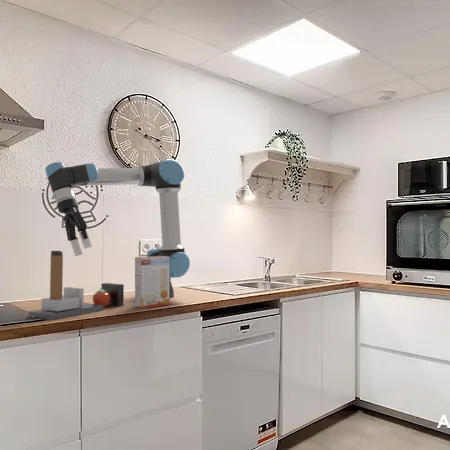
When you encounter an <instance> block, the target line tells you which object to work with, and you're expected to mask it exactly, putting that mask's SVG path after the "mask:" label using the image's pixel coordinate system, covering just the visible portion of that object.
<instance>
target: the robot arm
mask: <svg viewBox="0 0 450 450" xmlns="http://www.w3.org/2000/svg"><path fill="white" fill-rule="evenodd" d="M45 174H46V178H47V181H48V183H49V186H50V190H51V192H52V198H54V201H55V203H56V207H57V209H58V213H60V214H64V217H63V218H62V220H63V222H64V227H65V232H66V236H67V241H68V242H70V244H71V247H72V250H73V253H74V256H75V257H78V256H82V255H83V251H82V249H81V246H80V243H79V238H78V237H77V234H76V228H77V232H78V235H79V237H80V239H81V242H82V243H81V244H82V246H83V249H84V250H85V249H89V248H92V243H91V240H90V237H89V235H88V231H87V227H88V225H87V223H86V221H85V219H84V217H83V216H82V214H81V212H80V210H79V204H78V201H77V199H76V195H75V192H74V190H73V187H76V186H77V187H81V186H114V185H119V186H120V185H137V187H150V188H151V187H153V188H154V187H155V191H156V192H157V193H158V195H159V212H160V227H161V229H160V230H161V231H160V232H161V243H162V244H161V246H160V248H153V249H149V250H148V251H147V252H146V257H153V256H168V257H169V299H170V298H173V297H174V296H175V291H174V287H173V284H172V281H171V279H172V278H173V279H174V278H180V277H183V276H184V275H186V273H187V272H188V271H189V268H190V266H191V265H190V264H191V263H190V262H191V261H190V258H189V256H188V255H187V254H186V251H185V246H184V245H183V244H182V243H181V242H182V240H181V239H182V238H181V227H180V226H181V225H180V222H181V221H180V210H179V209H180V208H179V204H180V203H179V192H180V190H182V187H181V186H182V185H181V184H182V182H183V180H184V178H185V170H184V167H183V165H182V164H181V163H180V162H179V161H177V160H175V159H163V160H161V161H158V162H154V163H150V164H147V165H137V166H136V168H135V167H127V168H126V167H125V168H124V167H119V168H118V167H113V168H110V167H109V168H104V167H101V168H97V166H96V165H95V163H90V162H89V163H83V164H78V165H72V166H65V164H64V163H63V162H62V161H59V162H58V161H56V162H53V163H52V162H51V163H49V164H48V165H47V166H46V167H45Z"/></svg>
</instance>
